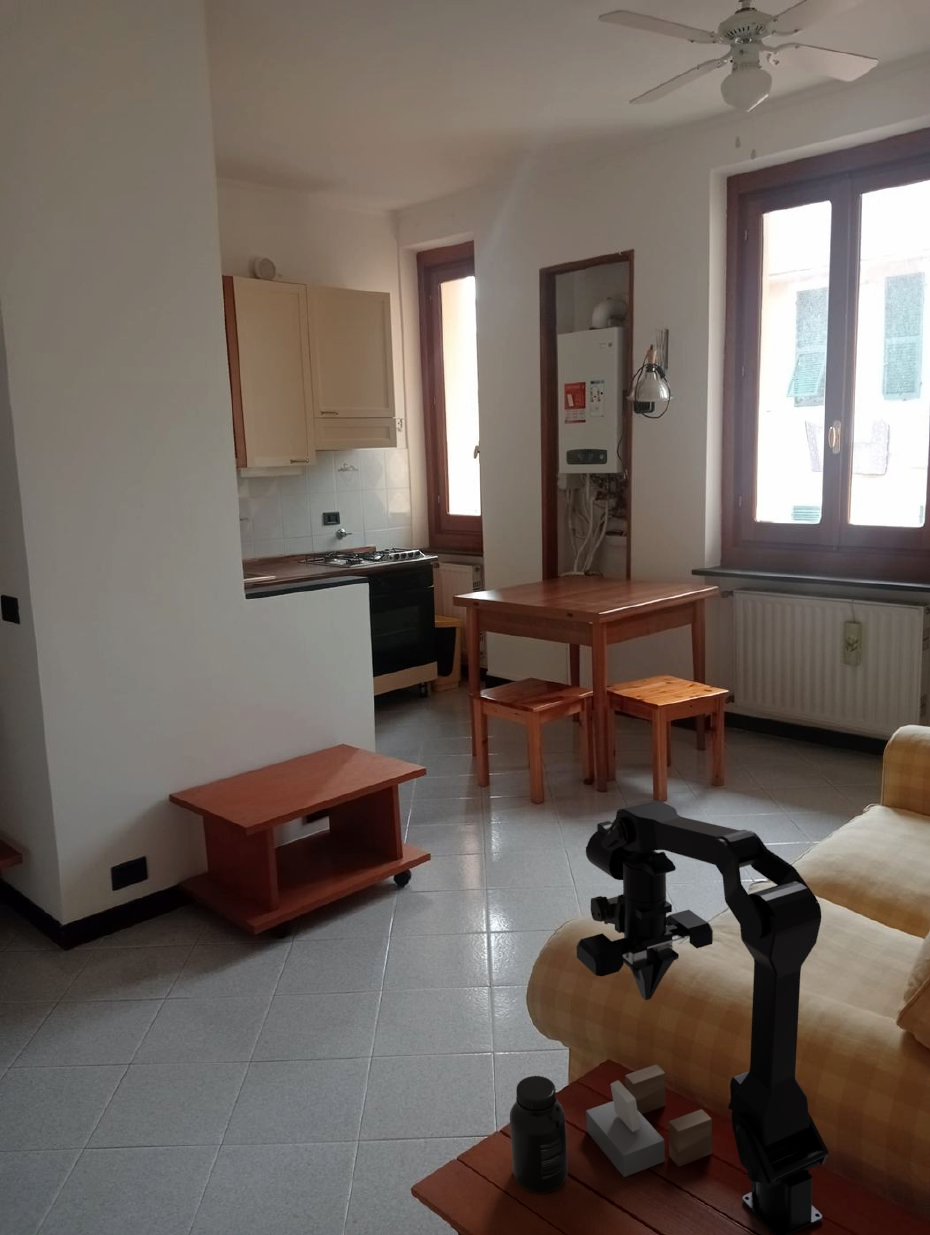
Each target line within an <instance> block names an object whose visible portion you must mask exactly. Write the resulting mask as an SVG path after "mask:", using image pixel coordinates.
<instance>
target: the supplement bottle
mask: <svg viewBox="0 0 930 1235" xmlns="http://www.w3.org/2000/svg"><path fill="white" fill-rule="evenodd" d="M515 1090H516V1091H515V1092H516V1099H515V1102H514V1103H513V1105H512V1107H511V1109H510V1112H509V1124H510V1125H509V1127H510V1141H511V1142H510V1144H511V1158H512V1160H511V1161H512V1173H513V1177H514V1179H515V1182H517V1184H518V1186H520V1187H521V1188H522V1189H523V1190H525V1191H527V1192H530V1193H534V1194H547V1193H551V1192H554V1191H556V1190H558V1189H559V1188H560V1187H561V1186H562V1185H563V1184H564V1183H565V1181H566V1180H567V1177H568V1173H569V1172H568V1171H569V1170H568V1147H567V1128H566V1126H567V1124H566V1114H565V1109H564V1107H563V1106H562V1104H561V1103H560V1102H559V1101H558V1100H557V1093H556V1091H557V1090H556V1086H555V1084H554V1082H553V1081H552V1080H550V1079H549V1078H547V1077H544V1076H541V1075H532V1076H527V1077H524V1078H523V1079H521V1081H519V1082H518V1083H517V1085H516V1089H515Z"/></svg>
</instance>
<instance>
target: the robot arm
mask: <svg viewBox="0 0 930 1235" xmlns="http://www.w3.org/2000/svg"><path fill="white" fill-rule="evenodd" d="M596 828H597V830H596V831H595V832H594V833H593V834H592V835H591V837H590V838H589V840H588V841H587V844H586V845H587V846H585V856H586V858H587V860H588V861H589V862H590V863H591V864H592V865H594V866H595V867H597V868H598V869H599V870H601V871H602V872H604V873H605V874H607V875H608V876H609V877H611V878H613V879H615V880H617V881H622V891H623V893H622V894H619V895H617V896H614V897H609V898H608V897H607V896H602V895H600V896H596V897H591V898H590V914H591V918H592V920H593V921H594V922H600V923H602V922H603V923H604V925H608V924H612V925H614V930H615V932H617V933H618V934H623V937H622V938H618V939H614V940H611V939H610V938H609V937H607V936H606V935H605V934H604V933H598V934H595V935H594V934H593V935H591V936H588V937H584V938H581V939H579V941H577V945H576V958H577V959H578V960H579V962H581V963H582V964H583V965H584V966H585V967H586V968H587V969H588V970H590V972H592V974H593V975H595V976H597V977H605V976H608V975H612V974H615V973H618V972H620V970H621V969H622V968H623V967H624V965H625V966H627V967H628V968H629V969H630V970H631V973H632V976H633V978H634V981H635V984H636V985H637V988H638V991H639V992H640V993H639V994H640V995H641V997H642V999H643V1000H645V1001H649V1000H651V999H652V998H653V996H654V994H655V992H656V990H657V989H658V986H659V985H660V983H661V982H662V979H663V978H664V976H665V975H666V973H667V971H668V970H669V968H670V967H671V966H672V964H673V963H674V961H677V960H678V959H679V957H680V955H679V953H678V952H677V951H676V950H674V949H673V948H674V947H673V946H674V945H673V942H676V941H680V940H683V939H686V938H687V937H689V940H688V941H689V944H690V945H691V946H692V947H694V948H695V949H701V948H703V947H708V946H709V945H713V942H714V930H713V928H712V926H711V924H710V923H709V922H708V921H706V920H704V919H703V918H702V917H701V916H699V915H697V914H696V913H695V912H693V911H691V910H690V909H686V910H682V911H679V912H674V913H672V912H673V905H672V904H671V903H670V902H669V901H667V874H668V873H671V872H675V871H676V869H677V868H676V865H675V863H674V862H673V861H672V860H671V859H670V858H669V857H668V856H667V855H666V853H665V851H666V852H669V853H673V854H676V855H679V856H683V857H686V858H690V859H693V860H694V859H695V860H697V861H700V862H704V863H706V864H711V865H714V866H715V867H716V868H717V869H718V871H719V872H720V874H721V877H722V883H723V894H724V901H725V903H726V905H727V906H728V909H729V910H730V911H731V913H732V915H733V916H734V917H735V919H736V921H737V922H738V923H739V926H740V927H739V928H740V930H739V931H740V938H741V942H742V943H743V945H745V948H746V949H747V951H748V952H749V954H750V955H751V957H752V958H753V985H752V986H753V987H752V1008H751V1009H752V1010H751V1012H752V1013H751V1033H750V1034H751V1036H750V1057H749V1058H750V1060H749V1070H748V1071H747V1070H746V1071H745V1072H743V1073H739V1074H738V1075H735V1076H733V1077H731V1080H730V1083H729V1088H730V1089H729V1092H730V1100H729V1104H728V1105H727V1107H728V1109H729V1110H730V1111H731V1126H732V1132H733V1136H734V1139H735V1145H736V1150H737V1153H738V1154H737V1155H738V1158H739V1161H740V1162H739V1163H740V1165H741V1166H742V1167H743V1168H744V1169H745V1170H746V1171H747V1172H746V1173H747V1178H748V1179H749V1180H750V1181H751V1189H752V1191H751V1192H748V1193H747V1194H745V1195H743V1196H742V1203H743V1204H744V1205H745V1206H746V1207H747V1208H748V1209H749V1210H750V1212H752V1214H753V1215H755V1217H756V1218H758V1220H759V1221H760V1222H761V1223H762V1224H763V1225H764V1226H765V1228H767V1230H769V1232H770V1233H771V1234H772V1235H794V1234H796V1233H798V1232H800V1231H803V1230H805V1229H807V1228H809V1227H812V1226H814V1225H816V1224H818V1223H820V1222H822V1221H823V1214H822V1213H820V1211H819V1210H818V1209H816V1208H815V1206H813V1176H812V1174H811V1173H809V1172H810V1171H809V1170H811V1169H813V1168H816V1167H817V1166H821V1165H824V1164H825V1163H826V1161H827V1158H828V1156H829V1154H830V1153H829V1150H828V1148H827V1146H826V1143H825V1142H824V1140H823V1138H822V1135H821V1134H820V1131H819V1130H818V1128H817V1126H816V1124H815V1122H814V1120H813V1118H812V1116H811V1113H810V1112H809V1111H810V1110H809V1101H808V1100H809V1099H808V1096H807V1094H806V1093H805V1091H804V1090H803V1088H802V1087H801V1085H800V1084H799V1082H798V1080H797V1079H796V1070H797V1069H796V1065H797V1064H796V1062H797V1049H798V1048H797V1046H798V1045H797V1044H798V1032H799V1030H798V1027H799V1013H800V1010H799V1008H800V989H801V970H802V966H803V965H804V963H805V961H806V960H807V958H808V957H809V955H810V953H811V952H812V949H813V948H814V947H815V945H816V944H817V940H818V936H819V931H820V928H821V922H822V910H821V906H820V903H819V901H818V899H817V897H816V895H815V894H814V893H813V891H812V889H810V887H809V886H808V884H807V883H806V881H805V880H804V879H803V877H802V876H801V875H800V873H799V872H798V870H797V869H796V868H795V867H794V866H793V865H792V864H790V863H789V862H787V861H786V860H785V859H783V858H782V857H780V856H778V855H777V854H775V853H774V852H772V851H771V850H770V849H769V848H767V846H766V844H765V843H764V841H763V840H762V839H761V838H760V836H759V835H758V834H757V833H756V832H755V831H752V830H747V829H737V828H736V829H735V828H732V827H726V826H722V825H717V824H714V823H709V822H706V821H700V820H696V819H691V818H687V817H683V816H682V815H679V814H678V812H677V809H676V808H675V807H674V806H672V805H669V804H667V803H665V802H663V801H661V800H652V801H648V802H643V803H640V804H639V803H638V804H636V805H631V806H627V807H622V808H619V809H617V810H616V815H615V819H614V820H613V821H609V820H607V821H602V822H598V823H597V824H596ZM658 851H659V852H658ZM747 866H751V867H752V869H753V870H755V871H756V872H758V873H759V874H760V875H762V876H763V877H765V878H767V879H768V880H769V881H771V882H772V883H773V884H775V885H774V886H771V887H767V888H764V889H761V890H758V891H754V892H751V893H748V892H747V890H746V889H745V887H744V885H743V884H742V879H741V878H742V877H741V870H740V868H744V867H747ZM669 913H671V914H669ZM667 914H669V915H667Z"/></svg>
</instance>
